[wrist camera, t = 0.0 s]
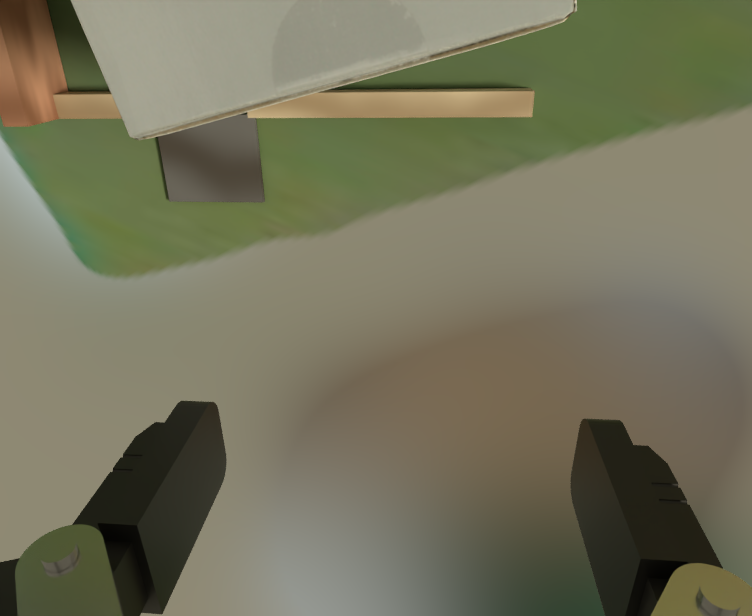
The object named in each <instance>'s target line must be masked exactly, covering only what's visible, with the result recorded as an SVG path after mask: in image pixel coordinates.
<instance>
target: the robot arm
mask: <svg viewBox="0 0 752 616" xmlns="http://www.w3.org/2000/svg"><path fill="white" fill-rule="evenodd" d="M225 471H226V453H225V446H224V440H223V434H222V429H221V423H220V417H219V412H218V407H217V405H216V404H215V403H214V402H196V401H180V402H179V403H178V404H177V405H176V407H175V408H174V409H173V411H172V412H171V414H170V415H169V417H168V418H167V420H166V422H165V423H160V422H156V423H154V424H152V425H151V426H150V427H148V428H147V429H146V430H144V431H143V432H142V433H140V434H139V435H137V436H136V437H135V438H134V440H133V441H132V443H131V444H130V445H129V447H128V448H127V450H126V451H125V452H124V454H123V458H120V459H119V461H118V462H117V463H116V465H115V466H114V468H113V472H110V473H109V474H108V476H107V477H106V479H105V480H104V481H103V483H102V484H101V486H100V487H99V488H98V490H97V491H96V493H95V494H94V495H93V497H92V498H91V499H90V501H89V502H88V504H87V505H86V506H85V508H84V509H83V511H82V512H81V513H80V515H79V516H78V518H77V519H76V520H75V522H74V523H73V524H72V525H70V526H65V527H61V528H58V529H56V530H53V531H51V532H49V533H47V534H45V535H44V536H42V537H40V538H39V539H38V540H36V541H35V542H34V543H33V544H31V545H30V546H29V547H28V549H26V550H25V551H24V553H23V554H22V556H21V557H20V558H19V559H15V560H9V561H4V562H0V616H140V614H141V613H153V614H163V611H164V609H165V607H166V605H167V603H168V600H169V598H170V596H171V594H172V592H173V589H174V588H175V585H176V583H177V581H178V579H179V577H180V574H181V572H182V570H183V568H184V566H185V564H186V561H187V559H188V557H189V555H190V553H191V550H192V548H193V546H194V544H195V542H196V540H197V537H198V535H199V533H200V531H201V529H202V527H203V524H204V522H205V520H206V518H207V516H208V513H209V511H210V509H211V507H212V505H213V503H214V500H215V498H216V496H217V494H218V492H219V490H220V487H221V485H222V483H223V480H224V476H225ZM571 496H572V502H573V506H574V509H575V513H576V516H577V520H578V523H579V527H580V530H581V534H582V537H583V540H584V544H585V547H586V551H587V554H588V558H589V561H590V565H591V568H592V571H593V575H594V579H595V582H596V586H597V589H598V593H599V596H600V599H601V603H602V606H603V610H604V613H605V616H752V587H750V586H749V585H748V584H747V583H746V582H745V581H743V580H742V579H740V578H739V577H737V576H736V575H734V574H732V573H731V572H729V571H726V570H724V569H723V567H722V566H721V564H720V562H719V560H718V558H717V556H716V554H715V552H714V550H713V549H712V547H711V545H710V543H709V541H708V539H707V537H706V536H705V533H704V532H703V530H702V528H701V526H700V524H699V522H698V520H697V518H696V517H695V515H694V513H693V511H692V509H691V507H690V505H687V500H686V498H685V496H684V494H683V492H682V490H681V488H678V482H677V481H676V479H675V477H674V475H673V473H672V471H671V469H670V468H669V466H668V464H667V463H666V462H665V461H664V460H663V459H662V458H661V457H660V456H658V455H657V454H656V453H655V452H654V451H653V450H652V449H651V448H650V447H649V446H637V445H633V443H632V441H631V439H630V437H629V435H628V433H627V431H626V429H625V427H624V425H623V423H622V422H621V421H620V420H602V419H583V420H582V421H581V424H580V428H579V433H578V439H577V444H576V450H575V455H574V461H573V467H572V472H571Z"/></svg>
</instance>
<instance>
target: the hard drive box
mask: <svg viewBox="0 0 752 616" xmlns="http://www.w3.org/2000/svg"><path fill="white" fill-rule="evenodd" d="M71 3H72V5H73V7H74V9H75V12H76V14H77V17H78V19H79V21H80V24H81V26H82V28H83V30H84V33H85V35H86V37H87V39H88V42H89V44H90V46H91V49H92V51H93V53H94V55H95V58H96V60H97V62H98V64H99V67H100V69H101V71H102V74H103V76H104V78H105V80H106V83H107V85H108V87H109V90H110V92H111V94H112V97H113V99H114V101H115V103H116V106H117V108H118V110H119V113H120V115H121V117H122V119H123V122H124V124H125V126H126V128H127V131H128V133H129V136H130V137H132V138H134V139H137V140H143V139H148V138H153V137H157V136H162V135H166V134H170V133H174V132H177V131H181V130H184V129H188V128H192V127H195V126H199V125H202V124H206V123H210V122H213V121H217V120H220V119H224V118H227V117H231V116H235V115H238V114H242V113H246V112H249V111H253V110H256V109H260V108H264V107H267V106H271V105H274V104H278V103H281V102H285V101H288V100H292V99H296V98H299V97H303V96H306V95H310V94H313V93H317V92H321V91H324V90H328V89H332V88H336V87H339V86H343V85H347V84H350V83H354V82H358V81H361V80H365V79H369V78H372V77H376V76H380V75H383V74H387V73H390V72H394V71H398V70H401V69H405V68H408V67H412V66H416V65H419V64H423V63H426V62H430V61H434V60H437V59H441V58H444V57H448V56H452V55H455V54H459V53H463V52H466V51H470V50H473V49H477V48H481V47H484V46H487V45H491V44H494V43H498V42H501V41H504V40H508V39H511V38H515V37H518V36H521V35H525V34H528V33H531V32H535V31H538V30H541V29H544V28H547V27H551V26H553V25H556V24H559V23H561V22H564V21H565V20H566V19H567V18H568V17H569V16H570V15H571V14H572V13H574V12H576V11H577V0H71Z"/></svg>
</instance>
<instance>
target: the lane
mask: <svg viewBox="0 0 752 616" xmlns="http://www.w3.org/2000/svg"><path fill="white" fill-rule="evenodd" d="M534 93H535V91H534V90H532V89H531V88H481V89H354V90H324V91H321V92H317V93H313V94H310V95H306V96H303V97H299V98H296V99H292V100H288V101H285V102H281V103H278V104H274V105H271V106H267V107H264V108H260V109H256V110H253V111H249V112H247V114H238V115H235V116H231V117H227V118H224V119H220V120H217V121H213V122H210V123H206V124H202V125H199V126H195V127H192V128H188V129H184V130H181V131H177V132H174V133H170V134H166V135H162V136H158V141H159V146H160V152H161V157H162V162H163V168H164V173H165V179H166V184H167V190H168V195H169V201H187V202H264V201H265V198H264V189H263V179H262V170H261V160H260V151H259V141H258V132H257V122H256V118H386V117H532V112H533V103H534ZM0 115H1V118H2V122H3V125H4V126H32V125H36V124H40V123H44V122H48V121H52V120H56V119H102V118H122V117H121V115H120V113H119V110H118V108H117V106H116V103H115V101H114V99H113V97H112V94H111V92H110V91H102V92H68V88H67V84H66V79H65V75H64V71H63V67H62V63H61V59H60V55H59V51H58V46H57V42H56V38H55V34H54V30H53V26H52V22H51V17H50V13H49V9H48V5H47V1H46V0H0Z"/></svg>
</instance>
